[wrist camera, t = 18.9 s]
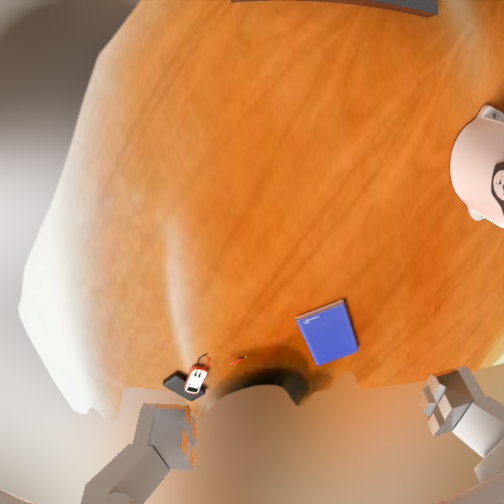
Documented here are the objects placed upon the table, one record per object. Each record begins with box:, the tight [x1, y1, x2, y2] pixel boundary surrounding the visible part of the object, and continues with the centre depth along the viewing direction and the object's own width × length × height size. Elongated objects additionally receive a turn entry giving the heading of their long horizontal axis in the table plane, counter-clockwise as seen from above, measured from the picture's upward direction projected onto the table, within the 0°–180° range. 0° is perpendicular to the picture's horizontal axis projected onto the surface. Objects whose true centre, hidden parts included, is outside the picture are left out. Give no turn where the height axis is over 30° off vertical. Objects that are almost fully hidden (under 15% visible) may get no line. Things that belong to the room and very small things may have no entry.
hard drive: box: [295, 299, 358, 365], centre depth 53 cm, size 2×8×12 cm
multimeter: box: [163, 353, 245, 401], centre depth 55 cm, size 18×12×3 cm, turn 130°
